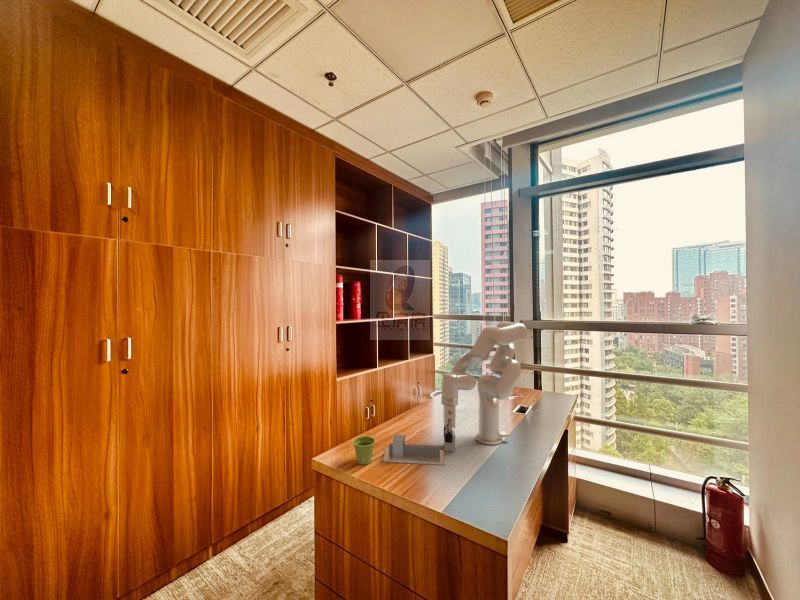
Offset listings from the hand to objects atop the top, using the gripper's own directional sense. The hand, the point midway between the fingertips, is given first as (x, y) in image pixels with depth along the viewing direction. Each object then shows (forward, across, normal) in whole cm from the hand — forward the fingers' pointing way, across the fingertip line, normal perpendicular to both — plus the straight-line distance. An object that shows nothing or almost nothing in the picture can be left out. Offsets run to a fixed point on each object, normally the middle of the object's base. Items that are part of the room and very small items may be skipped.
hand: (447, 437), depth 145 cm
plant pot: (+7, -15, +36) cm, 40 cm away
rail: (+6, -9, +15) cm, 18 cm away
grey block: (+5, +1, -1) cm, 5 cm away
